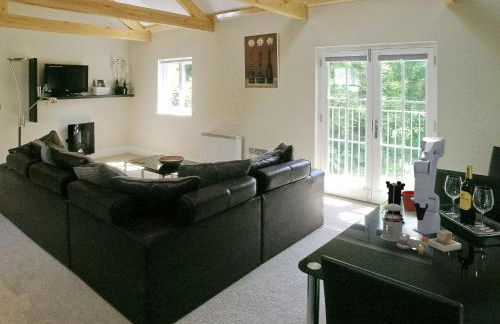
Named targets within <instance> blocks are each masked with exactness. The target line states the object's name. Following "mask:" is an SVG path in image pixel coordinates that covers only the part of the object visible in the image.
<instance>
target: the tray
mask: <svg viewBox="0 0 500 324" xmlns="http://www.w3.org/2000/svg"><path fill="white" fill-rule="evenodd" d="M428 240H429V241H428V247H432V248H434V249H436V250H438V251H441V252H443V253H446V252H451V251H457V250H461V249H462V243H460V242H458V241H455V240H453V239H452V244H451V245H445V246H444V245H441V244H439V243H437V237H435V238H430V239H429V238H428Z"/></svg>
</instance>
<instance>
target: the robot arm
mask: <svg viewBox="0 0 500 324" xmlns="http://www.w3.org/2000/svg"><path fill="white" fill-rule="evenodd" d="M445 148H446V138H445V137H429V136H427V137H425V136H423V137H422V138H421V140H420V149H421V150H420V151H421V152H420V154H419V156H418V159H417V160H415V161H414V163H413V178H414V189H413V191H414V198H411V200H413V201H415V202H414V203H413V204H414V206H415V210H416V211H415V215H416V219H417V226H416V227H415V228H412V230H413V231H416V232H418V233H419V234H423V235H431V234H437V231H438V230H441V229H440V228H441V216H440V213H439V211H440V196H439V195H438V194H436V193H435V186H436V177H437V168H438V164H439V160H440V158H443V157H444V155H445V151H446V150H445Z"/></svg>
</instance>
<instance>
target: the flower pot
mask: <svg viewBox="0 0 500 324" xmlns="http://www.w3.org/2000/svg"><path fill="white" fill-rule="evenodd" d="M401 194H402V195H403V196H401V200H402V205H403V209H404V210H405V211H408V212H416V210H415V206H414V204H413V203H414V202H415V201H413V200H411V198H414V190H402V193H401Z"/></svg>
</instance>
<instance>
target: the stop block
mask: <svg viewBox="0 0 500 324" xmlns="http://www.w3.org/2000/svg"><path fill="white" fill-rule="evenodd" d="M436 238H437V243H439V244H441V245H444V246H445V245H451V244H452V240H453V232H451V231H449V230H447V229H440V230H438V231H437V233H436Z"/></svg>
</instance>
